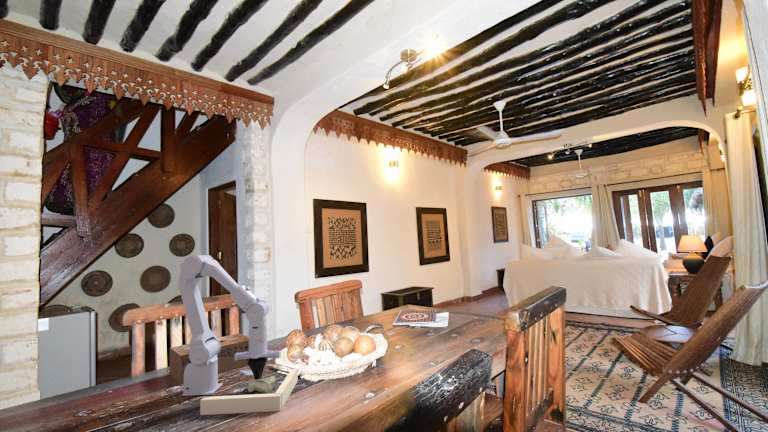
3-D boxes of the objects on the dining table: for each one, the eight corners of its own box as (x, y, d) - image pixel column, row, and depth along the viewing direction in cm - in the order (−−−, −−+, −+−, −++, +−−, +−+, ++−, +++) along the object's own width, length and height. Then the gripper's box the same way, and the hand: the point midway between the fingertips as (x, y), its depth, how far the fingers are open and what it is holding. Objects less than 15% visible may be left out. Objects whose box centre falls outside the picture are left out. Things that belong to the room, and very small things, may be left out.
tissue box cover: (239, 357, 145) (239, 333, 146) (254, 364, 135) (253, 338, 136) (169, 375, 127) (169, 347, 128) (180, 385, 117) (180, 355, 118)
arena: (200, 415, 95) (200, 400, 95) (232, 384, 116) (232, 372, 116) (280, 410, 95) (280, 396, 96) (297, 380, 116) (297, 368, 116)
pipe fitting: (275, 395, 107) (274, 385, 113) (275, 382, 107) (274, 373, 113) (248, 400, 104) (249, 389, 110) (247, 387, 104) (248, 377, 110)
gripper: (230, 343, 109) (230, 387, 108) (276, 341, 110) (277, 384, 109) (239, 337, 116) (239, 378, 115) (282, 335, 117) (283, 376, 116)
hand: (258, 381), depth 112 cm, fingers closed
